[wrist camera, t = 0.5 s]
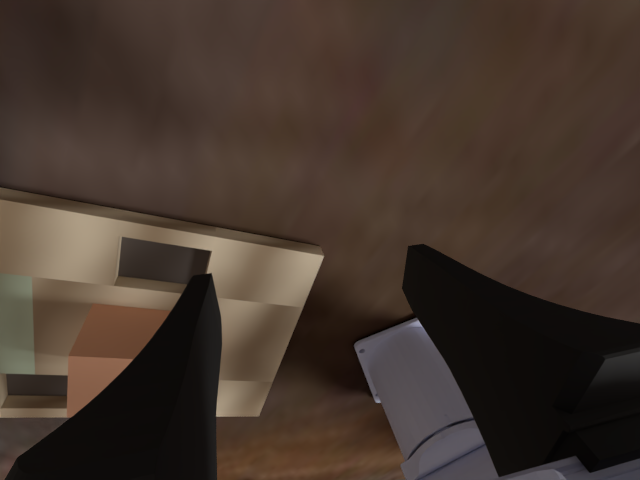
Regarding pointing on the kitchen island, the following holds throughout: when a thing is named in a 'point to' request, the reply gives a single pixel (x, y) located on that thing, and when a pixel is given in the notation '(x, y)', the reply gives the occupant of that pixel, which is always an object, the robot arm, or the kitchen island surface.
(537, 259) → the kitchen island surface
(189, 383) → the robot arm
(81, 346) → the rust block
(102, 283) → the box
